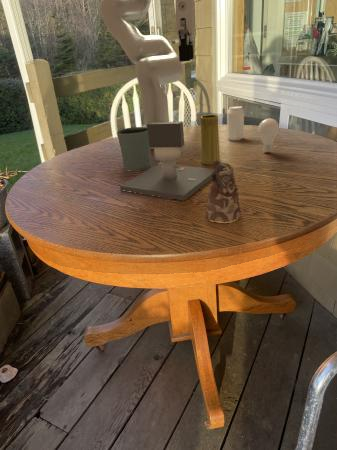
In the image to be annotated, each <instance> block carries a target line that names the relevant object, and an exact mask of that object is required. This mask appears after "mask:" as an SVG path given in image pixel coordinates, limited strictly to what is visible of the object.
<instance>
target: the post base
mask: <svg viewBox="0 0 337 450" xmlns="http://www.w3.org/2000/svg"><path fill="white" fill-rule="evenodd" d="M176 160H177V159H175V160H171V161H159V163H157V165H154V166H153V167H150V168H148V169H146V171H145V170H144V172H142V173H140V174H138V175H136V176H135V177H133V178H131V179H130V180H128V181H126V182H124V183H122V184H120V185H119V191H120V190H125V191H131V192H136V193H142V194H147V195H146V196H148V195H154V196H160V197H159V198H161V197H165V198H164V199H167V198H171V199H170V200H173V199H177V200H176V201H179V200H183V201H182V202H185V201H186V200H187V199H189V198H190V197H191V196H192V195H194V194H195V193H196V192H197V191H199V190H200V189H201V188H203V187H204V186H205V185H206V184H207V183H209V182H210V181H212V177H211V176H212V172H213V171H214V168H206V167H197V166H187V165H180V164H179V163H177V161H176ZM198 189H199V190H198ZM194 192H195V193H194ZM136 193H135V194H136ZM193 193H194V194H193ZM142 194H141V195H142ZM154 196H153V197H154ZM189 196H190V197H189ZM188 197H189V198H188ZM185 199H186V200H185ZM184 200H185V201H184Z"/></svg>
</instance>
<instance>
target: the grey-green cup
mask: <svg viewBox="0 0 337 450" xmlns="http://www.w3.org/2000/svg"><path fill="white" fill-rule="evenodd" d="M116 136H117V139H118V143H119V147H120V153H121V157H122V161H123V168H124V170H125V169H126V170H125V171H127V170H130V171H129V172H138V171H137V170H142V171H145V170H148V169H150V168H151V156H150V154H151V149H150V146H149V138H148V130H147V128H146V127H145V126H134V127H127V128H126V127H125V128H122V129H120V130H117V132H116ZM147 168H148V169H147ZM144 169H145V170H144Z"/></svg>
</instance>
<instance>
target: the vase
mask: <svg viewBox="0 0 337 450" xmlns="http://www.w3.org/2000/svg"><path fill="white" fill-rule="evenodd" d="M200 134H201V135H200V137H201V138H200V140H201V141H200V143H201V160H200V163H201V164H203V165H205V166H206V165H207V166H208V165H209V166H210V165H211V166H213V161H215V160H217V161H218V163H219V164H220V162H221V157H220V137H219V115H217V114H204V115H201V116H200Z"/></svg>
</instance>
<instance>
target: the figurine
mask: <svg viewBox="0 0 337 450" xmlns="http://www.w3.org/2000/svg"><path fill="white" fill-rule="evenodd" d="M212 166H213V169H214V171H213V172H212V176H211V177H212V179H211V182H212V184H211V186H210V187H209V189H208V193H207V198H206V200H207V201H206V212H205V214H206V218H207V217H208V218H207V220H208V219H210V220H213V221H221V222H230V221H234V220H236V219H237V218H238V217H239V216H240V215H241V206H240V199H239V185H238V184H236V178H235V175H234V167H233V166H232V165H230V164H229V163H227V162H221V163H220V162H219V163H218V161H217V160H215V161H213V165H212ZM240 217H241V216H240Z"/></svg>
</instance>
